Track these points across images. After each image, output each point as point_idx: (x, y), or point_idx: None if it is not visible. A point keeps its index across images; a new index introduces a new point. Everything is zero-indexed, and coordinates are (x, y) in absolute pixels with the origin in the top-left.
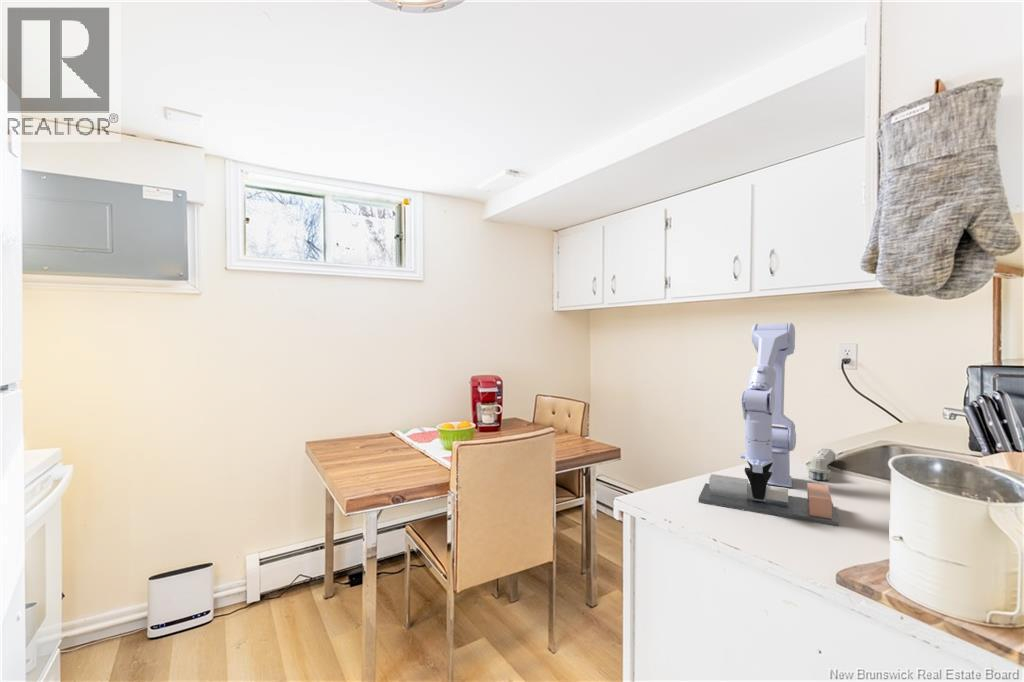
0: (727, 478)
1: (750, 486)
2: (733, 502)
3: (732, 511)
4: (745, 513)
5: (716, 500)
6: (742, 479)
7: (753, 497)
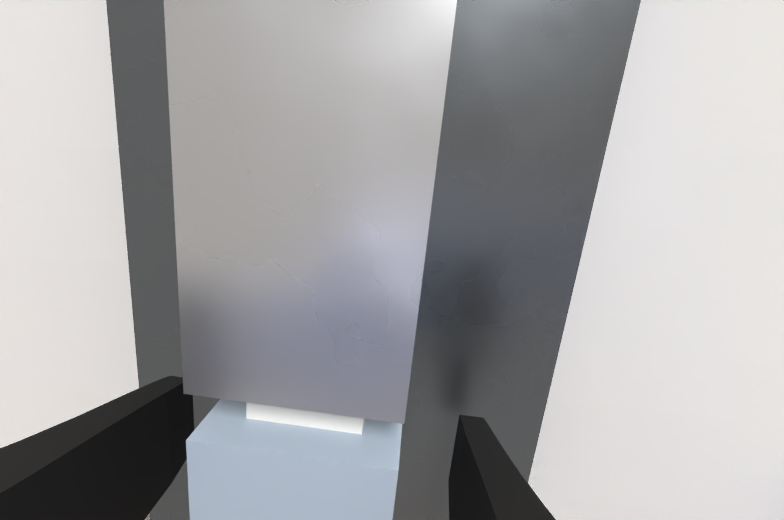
0: (317, 146)
1: (259, 406)
2: (157, 198)
3: (82, 184)
4: (96, 272)
5: (127, 41)
6: (359, 356)
7: (163, 378)
